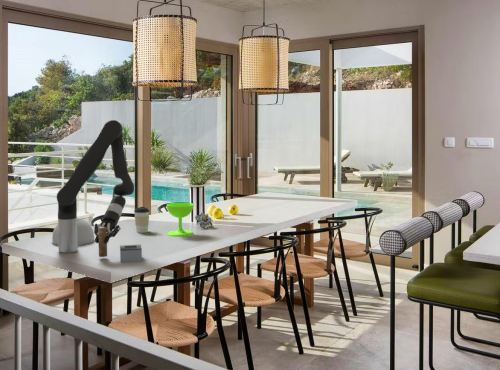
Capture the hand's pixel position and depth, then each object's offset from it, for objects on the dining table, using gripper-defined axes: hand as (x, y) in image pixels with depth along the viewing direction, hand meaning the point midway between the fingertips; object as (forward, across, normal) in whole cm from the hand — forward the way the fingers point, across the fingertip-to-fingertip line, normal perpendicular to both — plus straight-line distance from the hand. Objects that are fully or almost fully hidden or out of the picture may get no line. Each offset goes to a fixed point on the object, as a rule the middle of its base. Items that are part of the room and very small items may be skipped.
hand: (100, 242), depth 275 cm
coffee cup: (-44, -14, +56) cm, 73 cm away
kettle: (-19, -39, +32) cm, 54 cm away
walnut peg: (+4, 0, +6) cm, 7 cm away
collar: (+2, +14, +9) cm, 17 cm away
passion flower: (-62, +17, +73) cm, 97 cm away
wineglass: (-44, +12, +56) cm, 72 cm away
